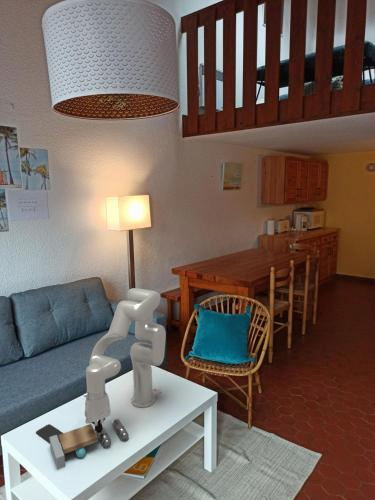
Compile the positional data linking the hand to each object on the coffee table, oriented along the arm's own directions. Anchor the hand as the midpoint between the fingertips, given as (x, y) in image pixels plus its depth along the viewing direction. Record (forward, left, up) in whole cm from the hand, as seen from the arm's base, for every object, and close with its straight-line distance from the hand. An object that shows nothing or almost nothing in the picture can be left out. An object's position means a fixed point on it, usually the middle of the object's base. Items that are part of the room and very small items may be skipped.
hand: (98, 431), depth 157 cm
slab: (+9, 0, -1) cm, 9 cm away
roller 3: (-10, 0, -5) cm, 11 cm away
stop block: (+18, 0, -5) cm, 18 cm away
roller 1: (+9, 0, -5) cm, 10 cm away
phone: (+17, -15, -5) cm, 23 cm away
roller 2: (-2, 0, -5) cm, 5 cm away
